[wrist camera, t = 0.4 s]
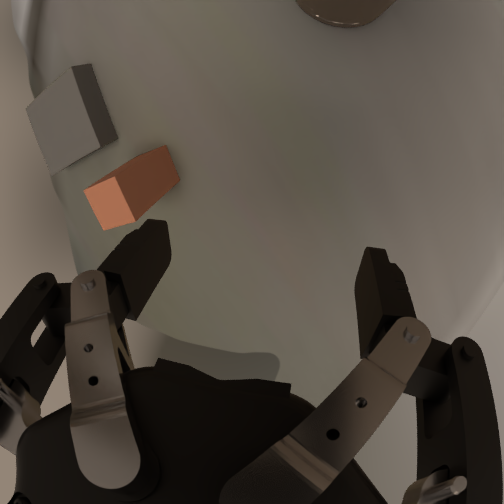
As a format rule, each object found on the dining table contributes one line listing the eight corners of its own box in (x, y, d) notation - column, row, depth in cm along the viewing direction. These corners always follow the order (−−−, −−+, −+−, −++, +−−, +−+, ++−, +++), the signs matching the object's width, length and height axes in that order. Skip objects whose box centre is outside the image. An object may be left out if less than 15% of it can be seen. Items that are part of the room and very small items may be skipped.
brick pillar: (135, 156, 33) (83, 190, 25) (165, 144, 31) (114, 176, 23) (150, 189, 35) (103, 230, 27) (180, 180, 33) (135, 221, 25)
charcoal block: (45, 101, 30) (25, 108, 27) (92, 63, 27) (71, 66, 23) (69, 165, 36) (51, 175, 33) (120, 137, 32) (100, 147, 29)
